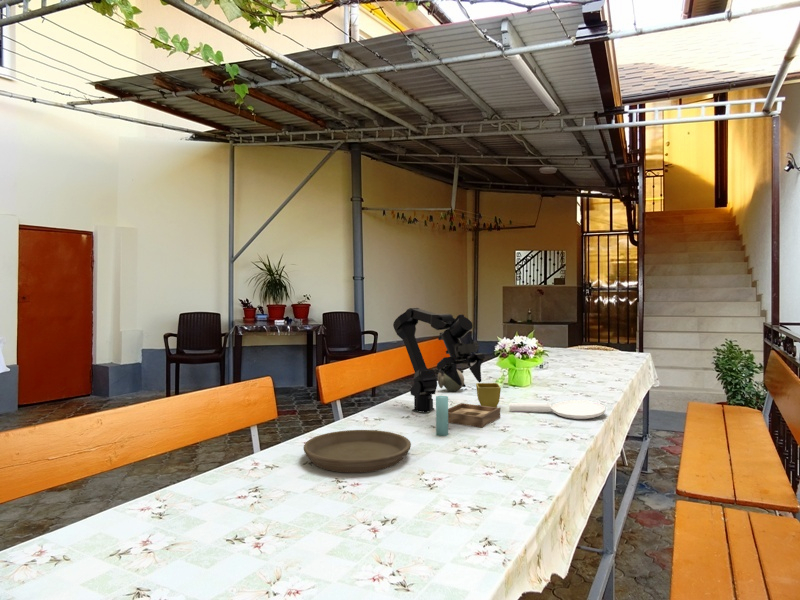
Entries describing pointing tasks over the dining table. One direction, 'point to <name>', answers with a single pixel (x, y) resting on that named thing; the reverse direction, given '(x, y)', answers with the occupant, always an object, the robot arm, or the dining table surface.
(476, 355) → the robot arm
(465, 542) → the dining table surface
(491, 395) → the flower pot
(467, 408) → the bore box
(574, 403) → the white piece
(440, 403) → the peg
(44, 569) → the dining table surface
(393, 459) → the plant saucer
